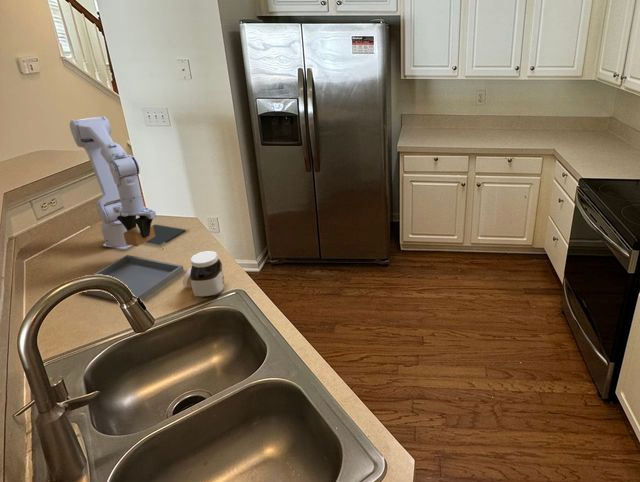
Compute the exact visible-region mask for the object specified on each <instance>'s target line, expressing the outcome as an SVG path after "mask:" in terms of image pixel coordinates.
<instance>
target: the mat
mask: <svg viewBox="0 0 640 482" xmlns="http://www.w3.org/2000/svg"><path fill="white" fill-rule="evenodd" d="M152 226H153V228H154V232H155V237H154V238H152V239H150V240H148V241H147V242H145V243H148V244H151V245H152V244H153V245H156V246H157V245H158V246H161V245H163V244H164V243H166V244H167V243H169V242H171V241H172V240H173V239H174V240H175V238H177V237H179V236H180V235H182V234H183V233H186V229H184V228H183V229H182V228H177V227H176V228H175V227H171V226H165V225H159V224H153V225H152Z"/></svg>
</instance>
